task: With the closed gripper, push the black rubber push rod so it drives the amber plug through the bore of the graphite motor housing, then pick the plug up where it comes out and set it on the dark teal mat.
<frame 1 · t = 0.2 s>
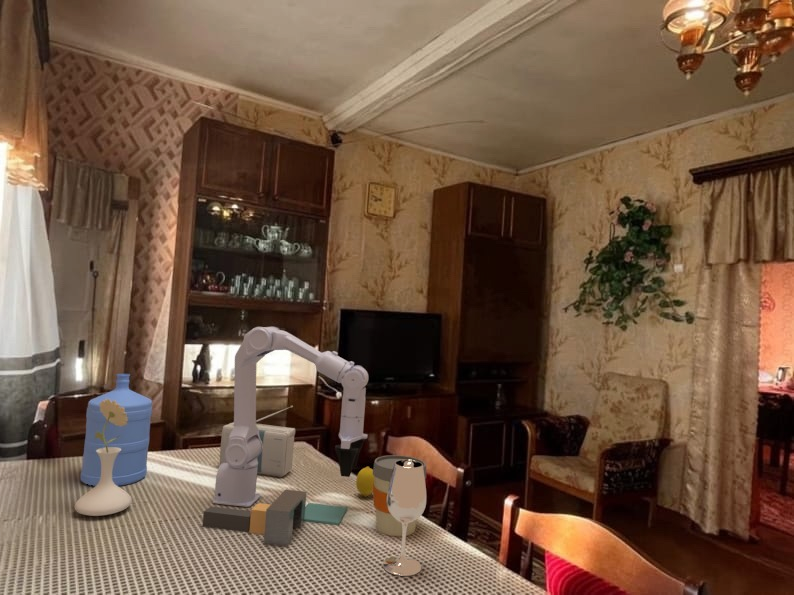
hand: (348, 471, 124), 10 cm above the table, tool pointing down, fingers open, 7 cm apart
housing: (285, 532, 111), on the table
plug: (261, 530, 111), on the table
stereo radio cassette player: (256, 471, 151), on the table
mat: (322, 514, 122), on the table
wineglass: (401, 567, 99), on the table
reusable coffee cup: (395, 528, 117), on the table
water jug: (113, 478, 137), on the table
flower in vase: (101, 510, 116), on the table
lemon: (365, 497, 136), on the table
push rod: (228, 527, 112), on the table
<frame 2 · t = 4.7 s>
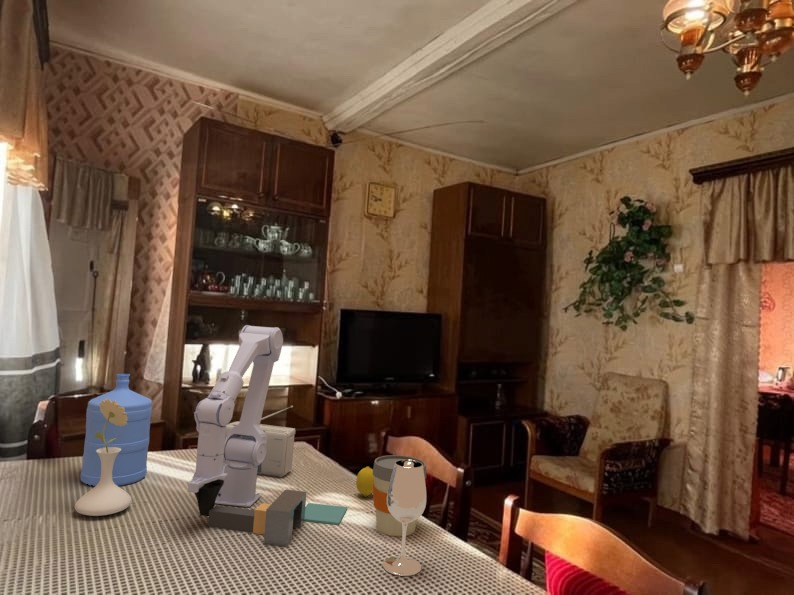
hand: (205, 514, 112), 2 cm above the table, tool pointing down, fingers closed, pressing on push rod
plug: (265, 530, 111), on the table, touching push rod
push rod: (233, 526, 112), on the table, touching gripper, plug
everything else where it was.
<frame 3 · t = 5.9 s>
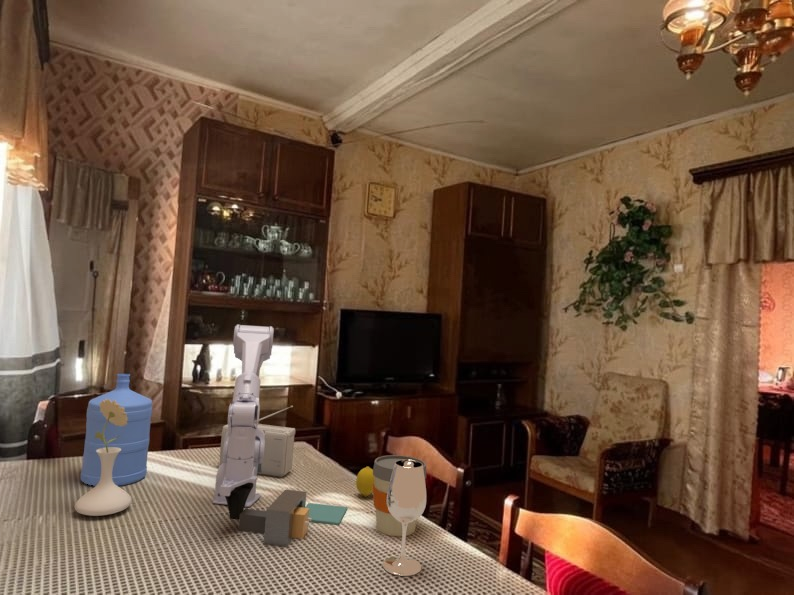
hand: (235, 518, 112), 2 cm above the table, tool pointing down, fingers closed, pressing on push rod
plug: (296, 533, 110), on the table, touching push rod
push rod: (264, 530, 111), on the table, touching gripper, plug
everything else where it was.
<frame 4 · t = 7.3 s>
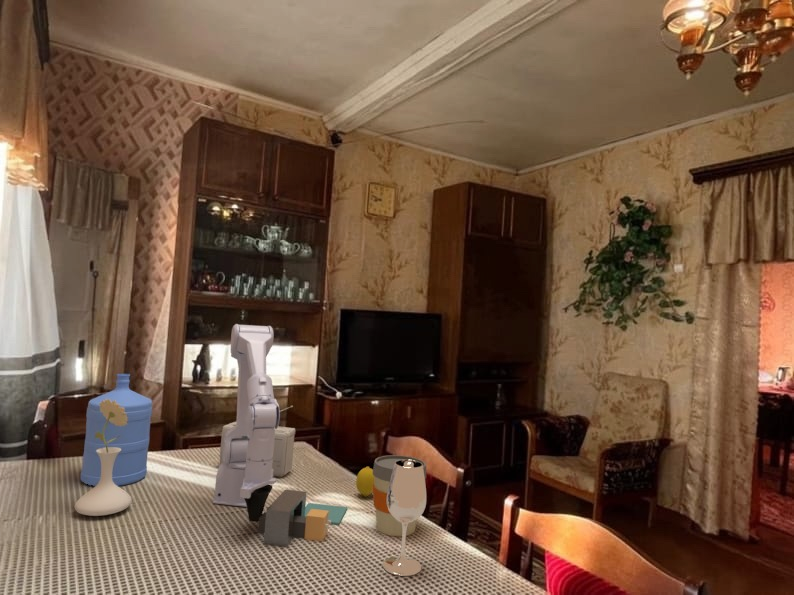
hand: (254, 520, 111), 2 cm above the table, tool pointing down, fingers closed
plug: (316, 536, 110), on the table
push rod: (283, 533, 111), on the table
everything else where it was.
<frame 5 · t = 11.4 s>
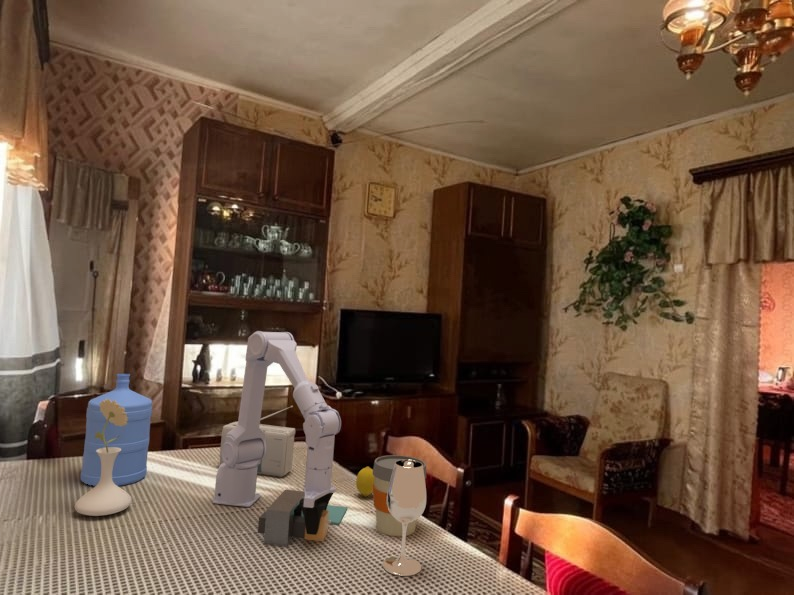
hand: (314, 529, 110), 1 cm above the table, tool pointing down, fingers closed on plug, 4 cm apart
plug: (316, 536, 110), on the table, touching gripper
everything else where it was.
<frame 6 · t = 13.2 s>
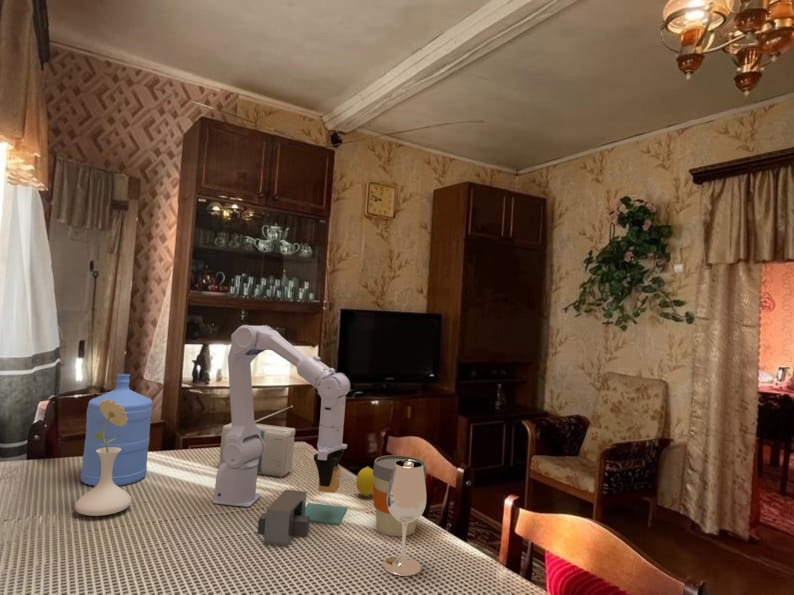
hand: (327, 482, 120), 8 cm above the table, tool pointing down, fingers closed on plug, 4 cm apart
plug: (328, 489, 120), point 7 cm above the table, touching gripper
everything else where it was.
when the fingers open (3 cm above the table, at t = 14.9 s): plug stays where it is, resting on mat.
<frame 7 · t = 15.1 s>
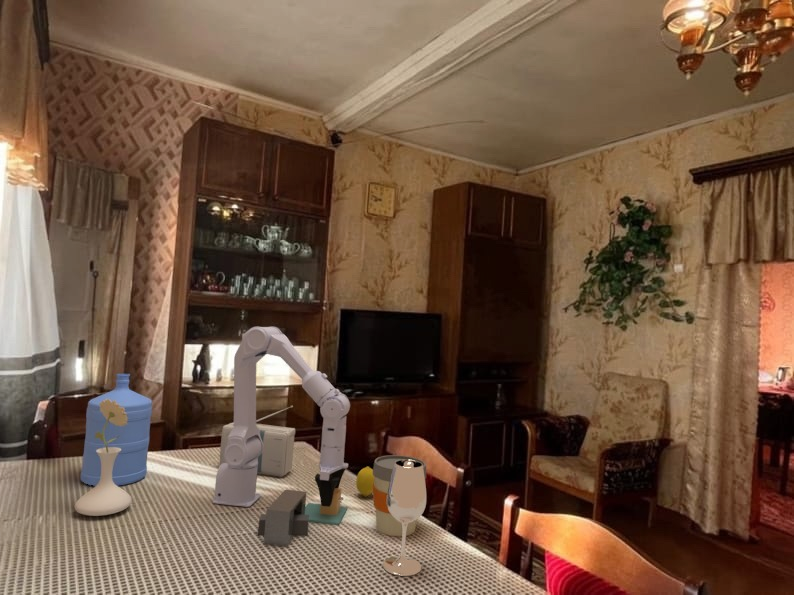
hand: (328, 501, 123), 3 cm above the table, tool pointing down, fingers open, 5 cm apart
plug: (330, 511, 123), resting on mat
everything else where it was.
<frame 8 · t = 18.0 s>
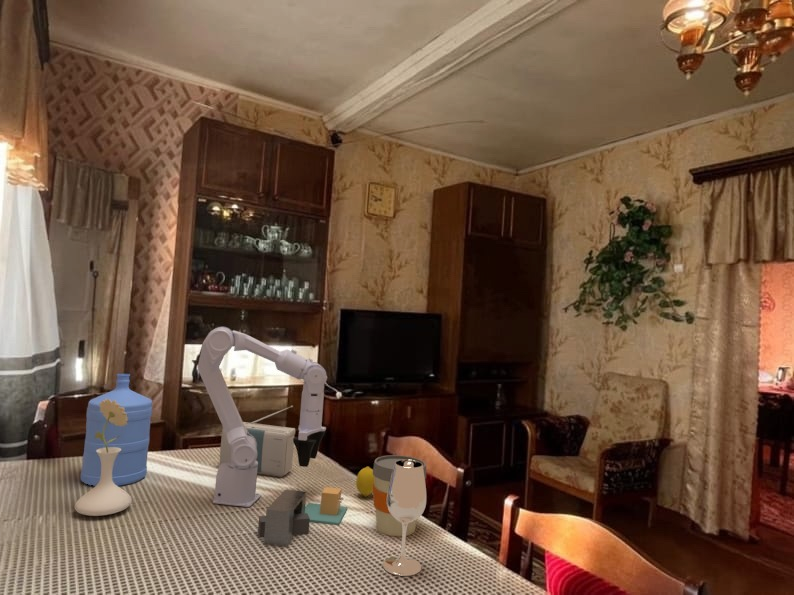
hand: (307, 462, 132), 9 cm above the table, tool pointing down, fingers open, 7 cm apart
at the end: plug inside the target area on the mat (1.8 cm from its centre), point 0.5 cm above the mat's base; plug tilted 0°; push rod moved 12.5 cm from its start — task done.
